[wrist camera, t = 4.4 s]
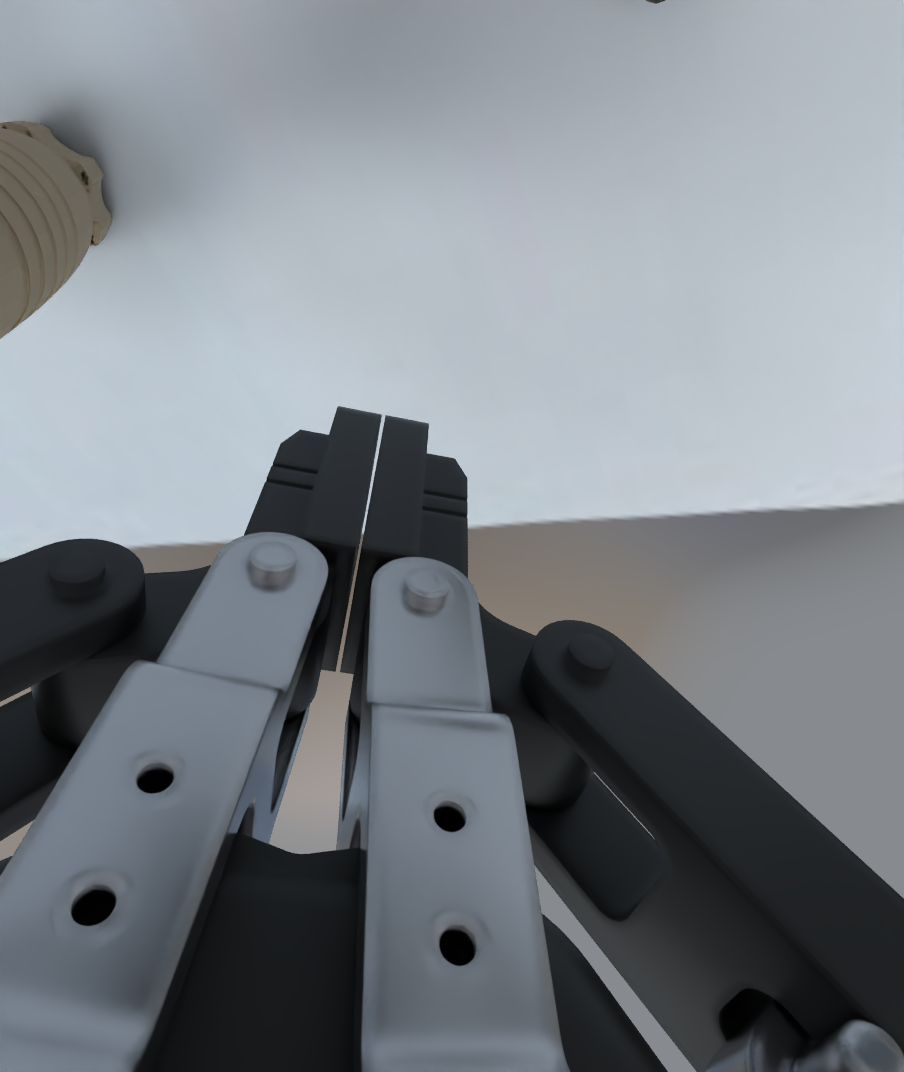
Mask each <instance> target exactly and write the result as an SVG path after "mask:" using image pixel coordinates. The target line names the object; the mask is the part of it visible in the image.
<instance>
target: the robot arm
mask: <svg viewBox="0 0 904 1072" xmlns="http://www.w3.org/2000/svg"><path fill="white" fill-rule="evenodd" d="M381 417H382V415H381V414H376V413H371V412H365V411H360V410H355V409H350V408H345V407H340V406H338V408H337V411H336V414H335V417H334V421H333V424H332V427H331V430H330V434H329V435H326V434H321V433H315V432H310V431H305V430H299V431H298V432H296V433H295V434H294V435H292V436H291V437H289V438H288V439H287V440H285V441H284V442H282V443H281V444H280V447H279V449H278V452H277V454H276V457H275V459H274V462H273V466H272V467H271V469H270V472H269V474H268V477H267V481H266V482H265V484H264V487H263V489H262V491H261V494H260V496H259V499H258V501H257V504H256V506H255V509H254V511H253V514H252V516H251V519H250V521H249V524H248V526H247V529H246V531H245V534H244V536H242V537H239V538H237V539H235V540H233V541H231V542H230V543H228V544H227V545H226V546H224V548H222V549H221V550H220V552H219V553H218V555H217V556H216V558H215V560H214V562H213V563H212V565H209V566H206V567H203V568H199V569H194V570H190V571H181V572H180V571H179V572H163V573H147V574H144V569H143V565H142V563H141V561H140V559H139V558H138V557H137V556H136V555H135V554H134V553H133V552H131V551H130V550H129V549H127V548H125V547H123V546H121V545H119V544H116V543H113V542H109V541H104V540H98V539H73V540H66V541H61V542H56V543H53V544H50V545H47V546H44V547H41V548H38V549H36V550H33V551H31V552H28V553H25V554H23V555H20V556H17V557H15V558H12V559H9V560H7V561H4V562H1V563H0V702H1V701H3V700H5V699H7V698H9V697H11V696H13V695H14V694H17V693H19V692H21V691H23V690H25V689H27V688H29V687H31V692H29V693H27V694H25V695H23V696H21V697H19V698H17V699H15V700H13V701H11V702H9V703H7V704H5V705H3V706H1V707H0V841H1V840H3V839H4V838H6V837H8V836H9V835H11V834H12V833H14V832H16V831H17V830H18V829H20V828H22V827H23V826H25V825H27V824H28V823H30V822H31V821H33V820H34V822H33V823H32V825H31V826H30V828H29V830H28V832H27V833H26V835H25V836H24V838H23V840H22V841H21V843H20V845H19V846H18V848H17V849H16V851H15V853H14V855H13V856H11V857H9V858H6V859H4V860H1V861H0V1072H668V1071H667V1070H666V1069H665V1067H664V1066H663V1064H662V1063H661V1062H660V1060H659V1059H658V1058H657V1056H656V1055H655V1053H654V1052H653V1051H652V1049H651V1048H650V1046H649V1045H648V1044H647V1042H646V1041H645V1040H644V1038H643V1037H642V1035H641V1034H640V1033H639V1031H638V1030H637V1028H636V1027H635V1026H634V1024H633V1023H632V1022H631V1020H630V1019H629V1017H628V1016H627V1015H626V1014H625V1012H624V1011H623V1009H622V1008H621V1006H620V1005H619V1004H618V1002H617V1001H616V1000H615V998H614V997H613V995H612V994H611V992H610V991H609V990H608V988H607V987H606V986H605V984H604V983H603V981H602V980H601V979H600V977H599V976H598V975H597V973H596V972H595V970H594V969H593V968H592V966H591V965H590V963H589V962H588V961H587V960H586V958H585V957H584V956H583V954H582V953H581V952H580V951H579V949H578V948H577V947H576V946H575V945H574V944H573V943H572V942H571V940H570V939H569V938H568V937H567V936H566V935H565V934H564V933H563V932H562V931H561V930H560V929H559V928H558V927H557V926H556V925H555V924H553V923H552V922H551V921H550V920H549V919H548V918H547V917H545V915H543V914H542V913H541V906H540V899H539V893H538V887H537V880H536V873H535V867H534V865H535V866H536V867H537V869H538V870H539V871H540V872H541V874H542V875H543V876H544V878H545V879H546V880H547V881H548V883H549V884H550V885H551V887H552V888H553V889H554V890H555V892H556V893H557V894H558V895H559V897H560V898H561V899H562V901H563V902H564V903H565V904H566V905H567V907H568V908H569V909H570V911H571V912H572V913H573V915H574V916H575V917H576V918H577V920H578V921H579V922H580V923H581V925H582V926H583V927H584V928H585V930H586V931H587V932H588V934H589V935H590V936H591V938H592V939H593V940H594V941H595V942H596V944H597V945H598V946H599V948H600V949H601V950H602V951H603V953H604V954H605V955H606V957H607V958H608V959H609V960H610V962H611V963H612V964H613V966H614V967H615V968H616V969H617V971H618V972H619V973H620V974H621V976H622V977H623V978H624V980H625V981H626V982H627V983H628V985H629V986H630V987H631V989H632V990H633V991H634V992H635V994H636V995H637V996H638V997H639V999H640V1000H641V1001H642V1003H643V1004H644V1005H645V1006H646V1008H647V1009H648V1010H649V1011H650V1013H651V1014H652V1015H653V1016H654V1018H655V1019H656V1020H657V1022H658V1023H659V1024H660V1025H661V1027H662V1028H663V1029H664V1031H665V1032H666V1033H667V1034H668V1036H669V1037H670V1038H671V1039H672V1041H673V1042H674V1043H675V1045H676V1046H677V1047H678V1048H679V1050H680V1051H681V1052H682V1053H683V1055H684V1056H685V1057H686V1059H687V1060H688V1061H689V1062H690V1064H691V1065H692V1066H693V1067H694V1069H695V1070H696V1071H697V1072H904V899H903V898H902V897H901V896H900V895H899V894H898V893H897V892H896V891H895V890H894V889H893V888H891V887H890V886H889V885H888V884H887V883H886V882H885V881H884V880H883V879H882V878H881V877H879V876H878V875H877V874H876V873H875V872H874V871H873V870H872V869H871V868H870V867H869V866H867V865H866V864H865V863H864V862H863V861H862V860H861V859H860V858H859V857H858V856H857V855H855V854H854V853H853V852H852V851H851V850H850V849H849V848H848V847H847V846H845V844H843V843H842V842H841V841H840V840H839V839H838V838H837V837H836V836H835V835H834V834H832V833H831V832H830V831H829V830H828V829H827V828H826V827H825V826H824V825H823V824H822V823H821V822H819V821H818V820H817V819H816V818H815V817H814V816H813V815H812V814H811V813H809V812H808V811H807V810H806V809H805V808H804V807H803V806H802V805H801V804H800V803H799V802H798V801H797V800H795V799H794V798H793V797H792V796H791V795H790V794H789V793H788V792H787V791H785V790H784V789H783V788H782V787H781V786H780V785H779V784H778V783H777V782H776V781H775V780H774V779H773V778H771V777H770V776H769V775H768V774H767V773H766V772H765V771H764V770H763V769H762V768H760V767H759V766H758V765H757V764H756V763H755V762H754V761H753V760H752V759H751V758H750V757H748V756H747V755H746V754H745V753H744V752H743V751H742V750H741V749H740V748H739V747H737V745H735V744H734V743H733V742H732V741H731V740H730V739H729V738H728V737H727V736H726V735H725V734H723V733H722V732H721V731H720V730H719V729H718V728H717V727H716V726H715V725H714V724H713V723H711V722H710V721H709V720H708V719H707V718H706V717H705V716H704V715H702V713H700V712H699V711H698V710H697V709H696V708H695V707H694V706H693V705H692V704H691V703H690V702H689V701H687V700H686V699H685V698H684V697H683V696H682V695H681V694H680V693H679V692H678V691H677V690H675V689H674V688H673V687H672V686H671V685H670V684H669V683H668V682H667V681H666V680H665V679H663V678H662V677H661V676H660V675H659V674H658V673H657V672H656V671H655V670H654V669H652V668H651V667H650V666H649V665H648V664H647V663H646V662H645V661H644V660H643V659H642V658H641V657H639V656H638V655H637V654H636V653H635V652H634V651H633V650H632V649H631V648H630V647H629V646H627V645H626V644H625V643H624V642H623V641H622V640H620V639H619V638H618V637H617V636H615V635H614V634H612V633H611V632H609V631H607V630H605V629H603V628H601V627H599V626H596V625H594V624H591V623H587V622H583V621H575V620H563V621H557V622H554V623H551V624H549V625H547V626H545V627H544V628H543V629H542V630H540V631H539V633H538V634H537V636H535V635H532V634H530V633H528V632H526V631H523V630H521V629H518V628H516V627H514V626H511V625H509V624H507V623H505V622H503V621H501V620H499V619H498V618H496V617H495V616H493V615H492V614H490V613H489V612H488V611H487V610H485V609H484V608H483V607H482V606H481V605H480V604H479V602H478V597H477V593H476V590H475V588H474V587H473V585H472V583H471V582H470V581H469V580H468V546H467V545H468V541H467V540H468V534H467V533H468V523H467V477H466V475H465V474H464V472H463V471H462V469H461V468H460V466H459V465H458V463H457V461H456V460H455V459H454V458H449V457H443V456H438V455H433V454H427V440H428V428H429V424H428V423H423V422H418V421H413V420H408V419H402V418H397V417H392V416H387V415H386V417H385V422H384V427H383V433H382V438H381V444H380V449H379V455H378V460H377V466H376V471H375V476H374V482H373V487H372V493H371V498H370V504H369V509H368V515H367V520H366V525H365V531H364V536H363V542H362V547H361V553H360V559H359V565H358V570H357V576H356V582H355V588H354V594H353V600H352V605H351V611H350V617H349V623H348V629H347V635H346V640H345V647H344V652H343V658H342V664H341V670H340V672H343V673H350V674H354V676H353V682H352V688H351V695H350V700H349V706H348V711H347V716H346V722H345V735H344V749H343V764H342V779H341V793H340V807H339V808H340V809H339V822H338V836H337V846H336V850H335V851H327V852H320V853H311V854H295V853H291V852H287V851H285V850H282V849H280V848H277V847H275V846H272V845H270V844H269V841H270V837H271V834H272V830H273V827H274V823H275V820H276V816H277V814H278V810H279V807H280V804H281V801H282V798H283V794H284V791H285V788H286V785H287V782H288V778H289V775H290V772H291V769H292V765H293V762H294V759H295V756H296V753H297V750H298V746H299V743H300V740H301V737H302V734H303V730H304V727H305V724H306V721H307V718H308V713H309V706H310V703H311V702H312V700H313V698H314V697H315V694H316V691H317V686H318V681H319V676H320V672H321V669H322V670H328V671H336V666H337V660H338V655H339V650H340V644H341V639H342V634H343V628H344V623H345V618H346V612H347V607H348V602H349V597H350V591H351V586H352V581H353V575H354V570H355V565H356V560H357V554H358V549H359V544H360V538H361V533H362V528H363V522H364V517H365V511H366V505H367V500H368V494H369V488H370V482H371V476H372V470H373V464H374V458H375V453H376V447H377V441H378V435H379V429H380V423H381ZM593 772H595V773H596V774H597V775H598V776H599V777H600V779H601V780H602V781H603V782H604V783H605V784H606V785H607V786H608V787H609V788H610V789H611V790H612V792H613V793H614V794H615V795H616V796H617V797H618V798H619V799H620V800H621V801H622V802H623V804H624V805H625V806H626V807H627V808H628V809H629V810H630V811H631V812H632V813H633V814H634V816H636V818H637V819H638V820H639V821H640V822H641V823H642V824H643V825H644V826H645V828H646V829H647V830H648V831H649V832H650V833H651V834H652V836H653V837H654V839H653V837H652V836H651V835H650V834H649V833H648V832H647V831H646V830H645V828H644V827H643V826H642V825H641V824H640V823H639V822H638V821H637V820H636V819H635V818H634V817H633V815H632V814H631V813H630V812H629V811H628V810H627V809H626V808H625V807H624V806H623V805H622V803H621V802H620V801H619V800H618V799H617V798H616V797H615V796H614V795H613V794H612V792H611V791H610V790H609V789H608V788H607V787H606V786H605V785H604V784H603V783H602V782H601V781H600V779H599V778H598V777H597V776H596V775H595V774H594V773H593Z"/></svg>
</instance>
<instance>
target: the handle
mask: <svg viewBox="0 0 904 1072" xmlns="http://www.w3.org/2000/svg"><path fill="white" fill-rule="evenodd" d="M103 177H104V176H103V172H102V170H101V169H100V167H99V165H98V164H97V163H96V161H95V160H94V159H93V158H92V157H88V156H84V155H81V154H78V153H76V152H75V151H73V150H71V149H69V148H67V147H66V146H65V145H63V144H62V143H61V142H60V141H58V140H57V139H56V138H55V137H54V136H53V134H52V132H51V131H50V129H49V128H48V127H47V126H45V125H42V124H39V123H34V122H26V121H16V122H6V123H0V339H1V338H2V337H3V336H5V335H6V334H7V333H9V332H10V331H12V330H13V329H14V328H15V327H17V326H18V325H19V324H20V323H21V322H23V321H24V320H26V319H27V318H28V317H29V316H31V315H32V314H33V313H34V312H35V311H36V310H38V309H39V308H40V307H41V306H42V305H43V304H44V303H45V302H46V301H47V300H49V299H50V298H51V297H52V296H53V294H55V293H56V292H57V291H58V290H59V289H60V288H61V287H62V286H63V284H65V283H66V281H67V280H68V279H69V278H70V277H71V275H72V274H73V273H74V272H75V270H76V269H77V267H78V266H79V265H80V263H81V261H82V260H83V258H84V256H85V255H86V253H87V251H88V249H89V246H91V245H94V246H96V245H98V244H99V243H100V242H101V241H102V240H103V239H104V237H105V236H106V234H107V232H108V230H109V228H110V225H111V221H112V217H111V214H110V212H109V211H108V210H107V208H106V206H105V204H104V201H103V198H102V191H101V183H102V179H103Z"/></svg>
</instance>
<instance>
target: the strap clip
mask: <svg viewBox="0 0 904 1072" xmlns="http://www.w3.org/2000/svg"><path fill="white" fill-rule="evenodd" d="M646 1H649V2H652V3H656V4H657V3H660V2H663V1H665V0H646Z"/></svg>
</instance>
